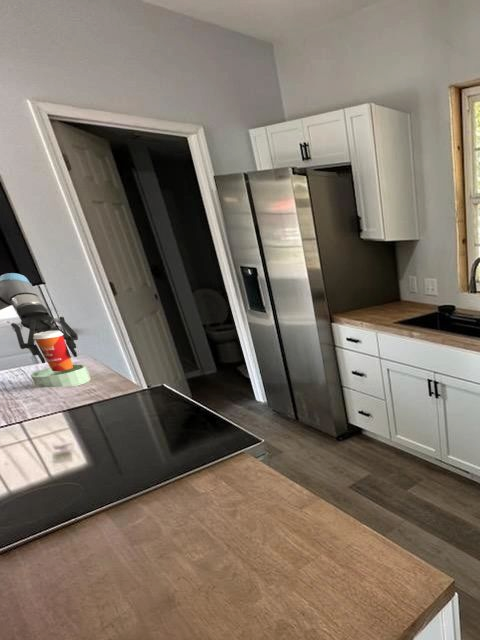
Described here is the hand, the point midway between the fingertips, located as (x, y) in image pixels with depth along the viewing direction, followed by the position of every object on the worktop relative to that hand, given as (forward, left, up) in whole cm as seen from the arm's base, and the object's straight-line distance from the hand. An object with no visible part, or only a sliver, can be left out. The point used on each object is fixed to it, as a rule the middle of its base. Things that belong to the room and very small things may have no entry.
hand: (59, 357), depth 151 cm
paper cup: (-3, +2, -5) cm, 6 cm away
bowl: (-4, +2, -11) cm, 12 cm away
